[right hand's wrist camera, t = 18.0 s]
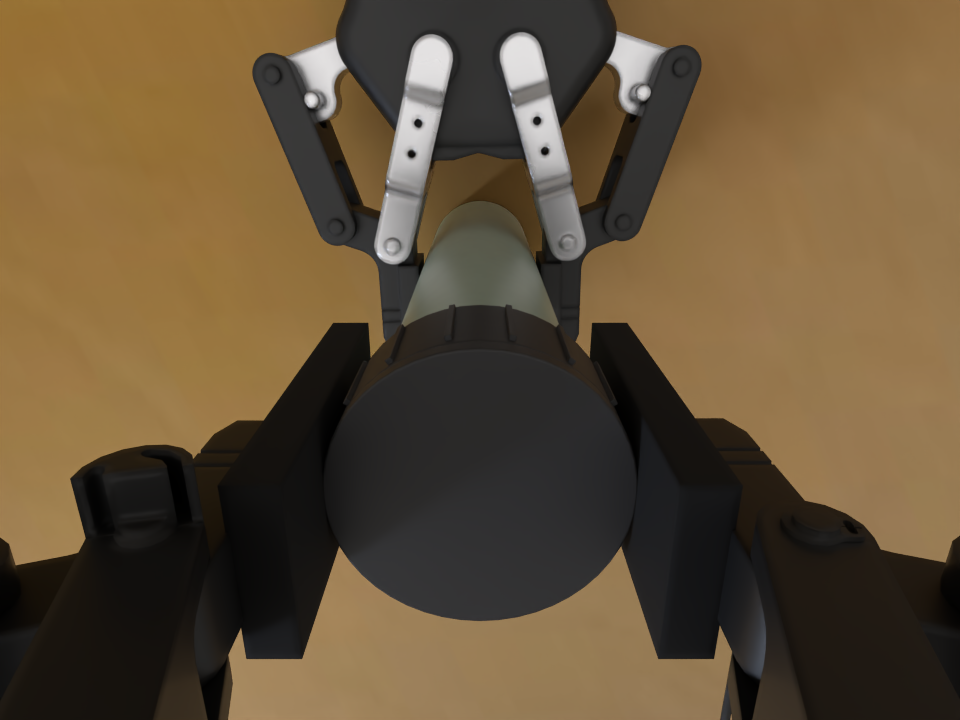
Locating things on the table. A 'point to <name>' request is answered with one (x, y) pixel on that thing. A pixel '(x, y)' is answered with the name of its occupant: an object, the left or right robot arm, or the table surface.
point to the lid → (480, 466)
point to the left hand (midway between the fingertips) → (482, 355)
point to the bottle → (480, 265)
